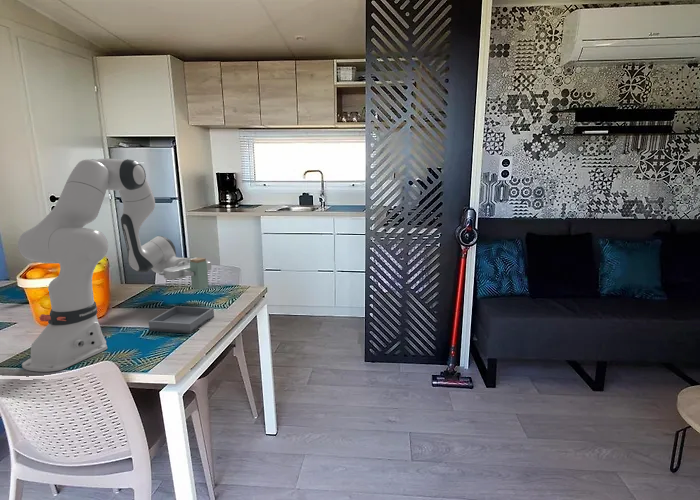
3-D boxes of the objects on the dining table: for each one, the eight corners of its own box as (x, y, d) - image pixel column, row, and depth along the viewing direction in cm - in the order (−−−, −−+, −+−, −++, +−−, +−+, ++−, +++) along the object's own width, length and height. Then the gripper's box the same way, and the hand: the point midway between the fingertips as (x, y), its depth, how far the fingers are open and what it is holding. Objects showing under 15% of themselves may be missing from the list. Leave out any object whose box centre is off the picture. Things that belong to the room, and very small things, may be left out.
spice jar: (199, 289, 163) (196, 260, 160) (192, 287, 165) (189, 259, 163) (208, 286, 167) (206, 258, 164) (201, 285, 169) (198, 257, 167)
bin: (190, 333, 139) (189, 324, 138) (149, 330, 141) (148, 321, 141) (214, 316, 154) (213, 308, 153) (176, 314, 157) (175, 305, 156)
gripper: (155, 265, 162) (177, 270, 155) (198, 256, 179) (219, 259, 172) (157, 280, 163) (178, 285, 156) (199, 270, 180) (220, 274, 173)
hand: (200, 272), depth 164 cm, fingers closed on spice jar, 5 cm apart
